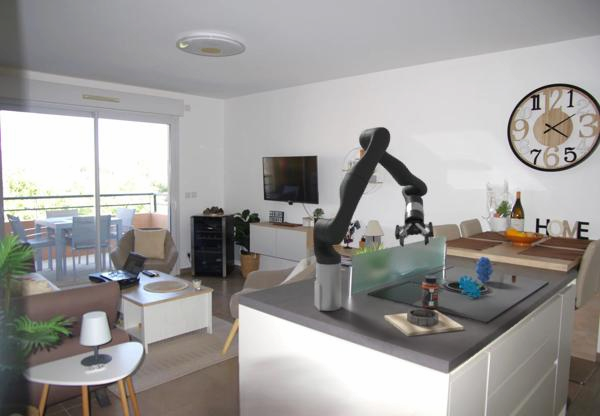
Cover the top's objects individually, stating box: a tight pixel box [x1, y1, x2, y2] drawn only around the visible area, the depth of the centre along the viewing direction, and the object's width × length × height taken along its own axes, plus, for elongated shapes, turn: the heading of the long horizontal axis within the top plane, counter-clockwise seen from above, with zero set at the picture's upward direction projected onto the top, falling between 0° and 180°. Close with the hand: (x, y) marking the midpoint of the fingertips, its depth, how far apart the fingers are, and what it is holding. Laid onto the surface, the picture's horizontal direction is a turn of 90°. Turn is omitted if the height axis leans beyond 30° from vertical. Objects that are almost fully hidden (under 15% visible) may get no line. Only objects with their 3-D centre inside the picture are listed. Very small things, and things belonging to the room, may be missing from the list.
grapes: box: [474, 256, 494, 284], centre depth 190 cm, size 12×7×12 cm, turn 129°
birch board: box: [383, 309, 464, 337], centre depth 143 cm, size 20×16×1 cm
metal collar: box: [406, 307, 439, 327], centre depth 143 cm, size 10×10×2 cm
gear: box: [458, 275, 483, 299], centre depth 174 cm, size 11×6×10 cm
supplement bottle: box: [421, 275, 440, 309], centre depth 160 cm, size 6×6×11 cm
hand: (414, 244), depth 159 cm, fingers open, 8 cm apart
